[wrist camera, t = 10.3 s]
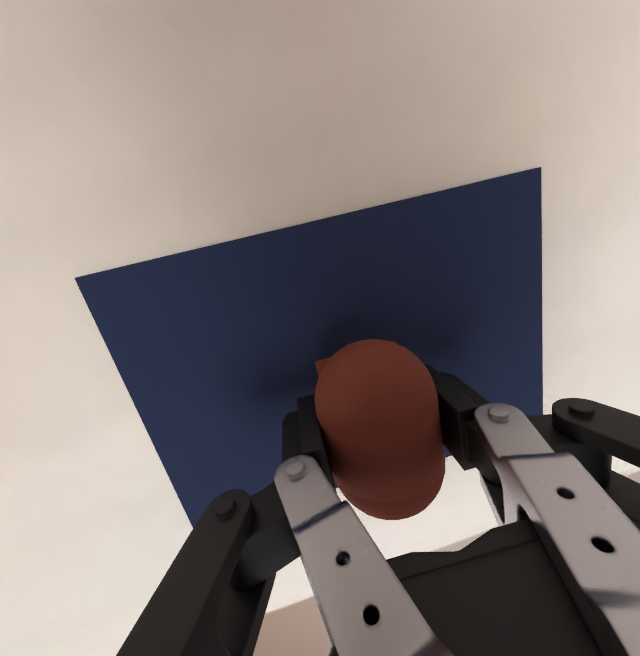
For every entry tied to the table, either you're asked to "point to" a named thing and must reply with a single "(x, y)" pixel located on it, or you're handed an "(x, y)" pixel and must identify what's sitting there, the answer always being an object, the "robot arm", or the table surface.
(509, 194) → the desk pad
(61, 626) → the table surface
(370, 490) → the potato
